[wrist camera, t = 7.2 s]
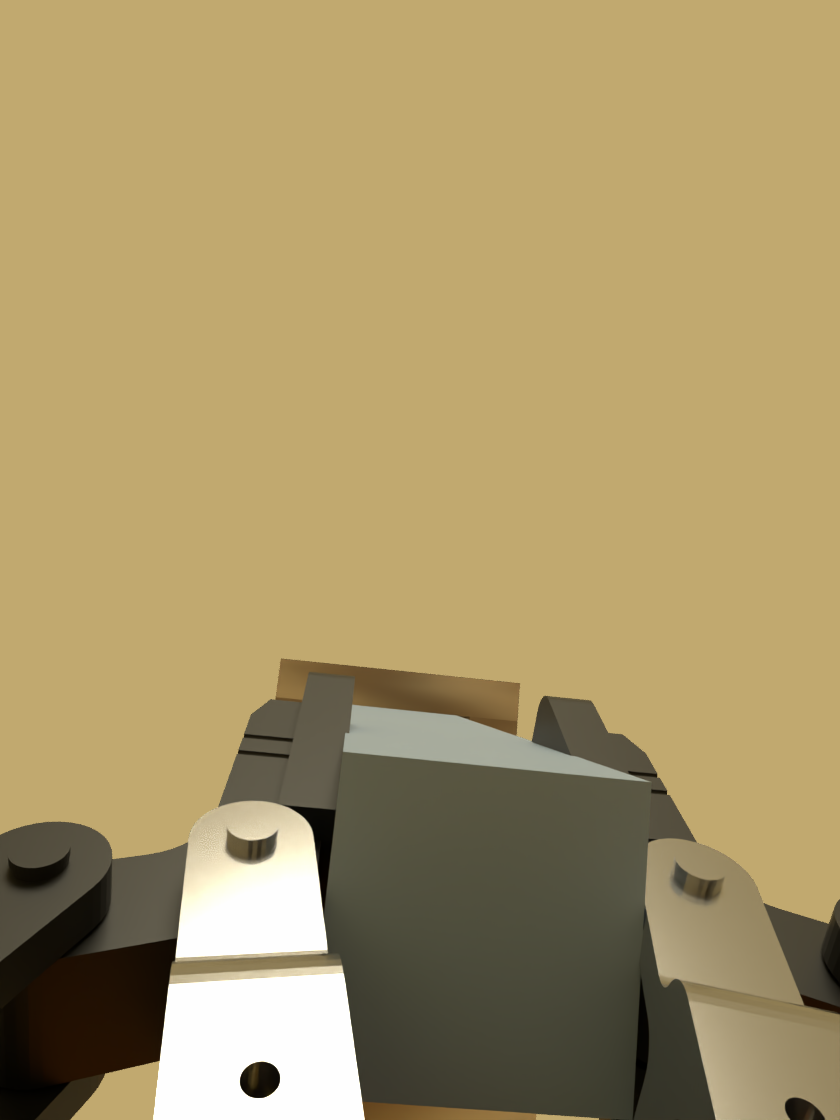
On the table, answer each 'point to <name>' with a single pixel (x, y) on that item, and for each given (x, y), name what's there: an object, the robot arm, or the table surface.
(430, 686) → the tall patterned tan block
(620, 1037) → the bar
